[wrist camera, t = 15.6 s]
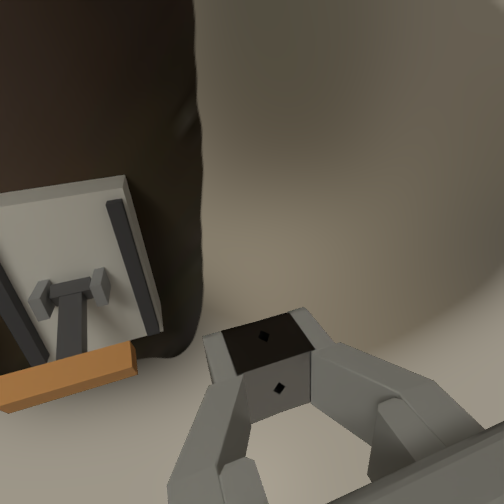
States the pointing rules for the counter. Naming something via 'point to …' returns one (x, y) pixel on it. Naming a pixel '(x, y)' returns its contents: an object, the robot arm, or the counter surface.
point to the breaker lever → (68, 357)
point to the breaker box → (74, 257)
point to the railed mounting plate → (20, 325)
